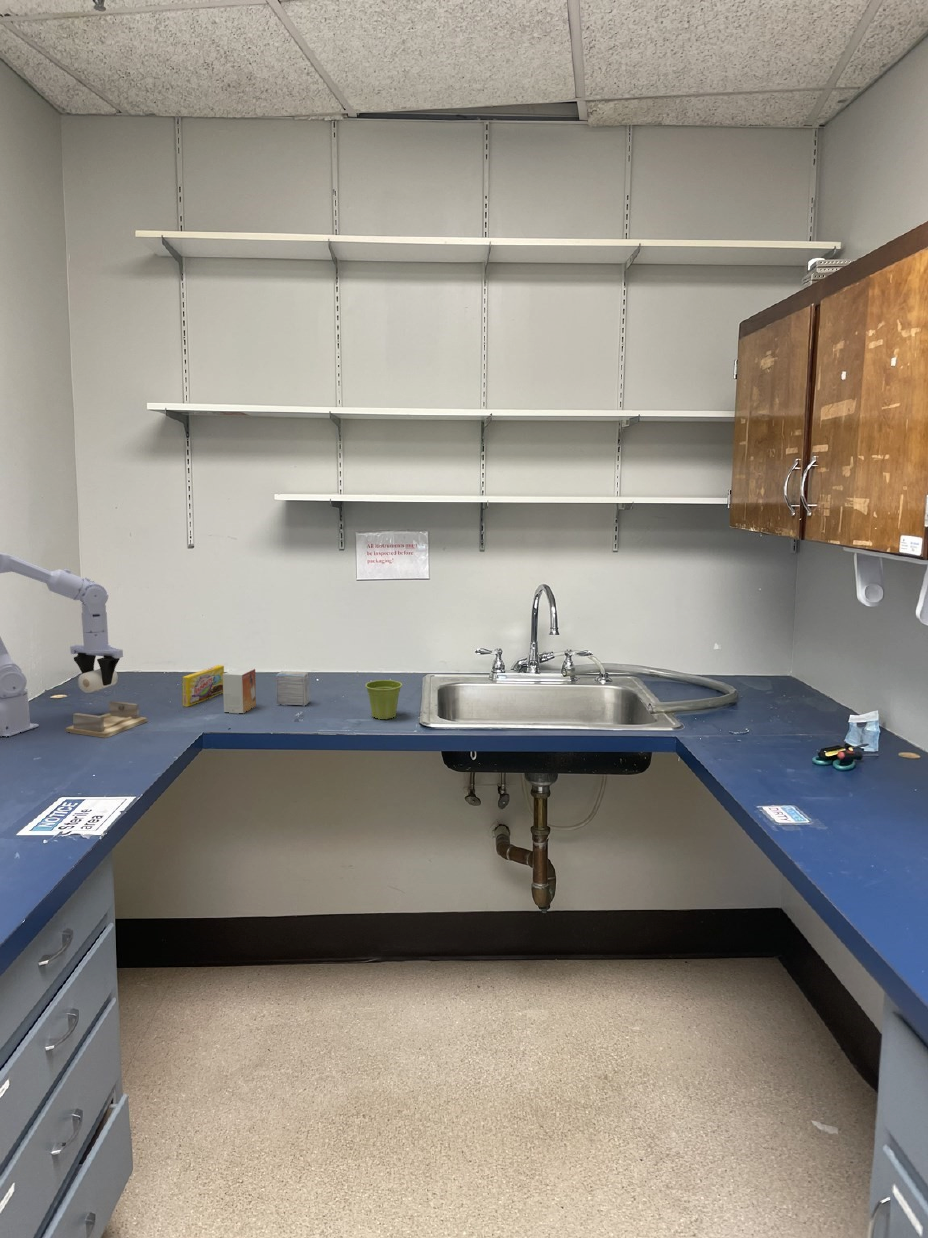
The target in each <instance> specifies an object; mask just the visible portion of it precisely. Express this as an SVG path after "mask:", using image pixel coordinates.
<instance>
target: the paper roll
mask: <svg viewBox="0 0 928 1238" xmlns="http://www.w3.org/2000/svg"><path fill="white" fill-rule="evenodd" d="M118 678H119V677H118V673H117V670H116V669H115V670H114V673H113V677H112V682H111V684H109V685H106V686H104V685H103V682H102V674H101V669H100V668H99V669H94V671H90V672H87V673H83V674H82V673H81V674H80V675H79V676H78V679H77V684H78V687H79V689H80V690H81V691H82V692H83V693H86V694H89V693H92V692H96V691H100V690H103V689H106V688H108V687H109V688H110V687H113V686H114V685H116V683H117V682H118Z"/></svg>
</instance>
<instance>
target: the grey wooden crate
mask: <svg viewBox="0 0 928 1238" xmlns="http://www.w3.org/2000/svg"><path fill="white" fill-rule="evenodd" d="M309 680H310V679H309V672H308V671H291V670H289V671H284V670H283V671H280V672H278V673H277V674H276V675H275V681H276V682H275V684H276V685H275V686H276V705H277V704H285V705H284V706H287V705H306V706H307V705H308V703H310V683H309V682H310V681H309Z"/></svg>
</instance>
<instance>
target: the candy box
mask: <svg viewBox="0 0 928 1238" xmlns="http://www.w3.org/2000/svg"><path fill="white" fill-rule="evenodd" d="M224 673H225V666H224V665H221V664H217V665H215V666H213V667H208V668H206V669H203V670H199V671H195V672H194V673H190V674H188V675H184V676H182V707H186V708H188V707H191V706H194V705H196V703H197V704H198V703H201V702H205V701H207V700H209V699H212V698H214V696H215V697H216V695H217V696H219V695H218V694H220V695H221V693H222V694H223V674H224ZM208 698H209V699H208ZM206 699H207V700H206Z"/></svg>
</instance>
